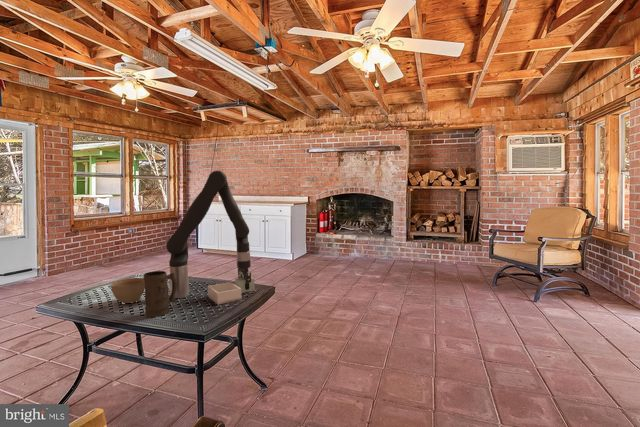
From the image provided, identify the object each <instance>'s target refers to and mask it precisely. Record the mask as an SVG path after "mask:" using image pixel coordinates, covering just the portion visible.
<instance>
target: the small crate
mask: <svg viewBox="0 0 640 427" xmlns="http://www.w3.org/2000/svg"><path fill="white" fill-rule="evenodd" d="M245 278H246V277H245ZM234 284H235V285H236V286H238V287H240V288H241V294H243V293H244V294H245V293H248V292H252V291H253V292H255V290H256V289H255V277H252V276H251V282H250V283H249V289H248V290H246V289H245V280H244V279H243V277H242V278H238V277H237V278H234Z"/></svg>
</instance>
